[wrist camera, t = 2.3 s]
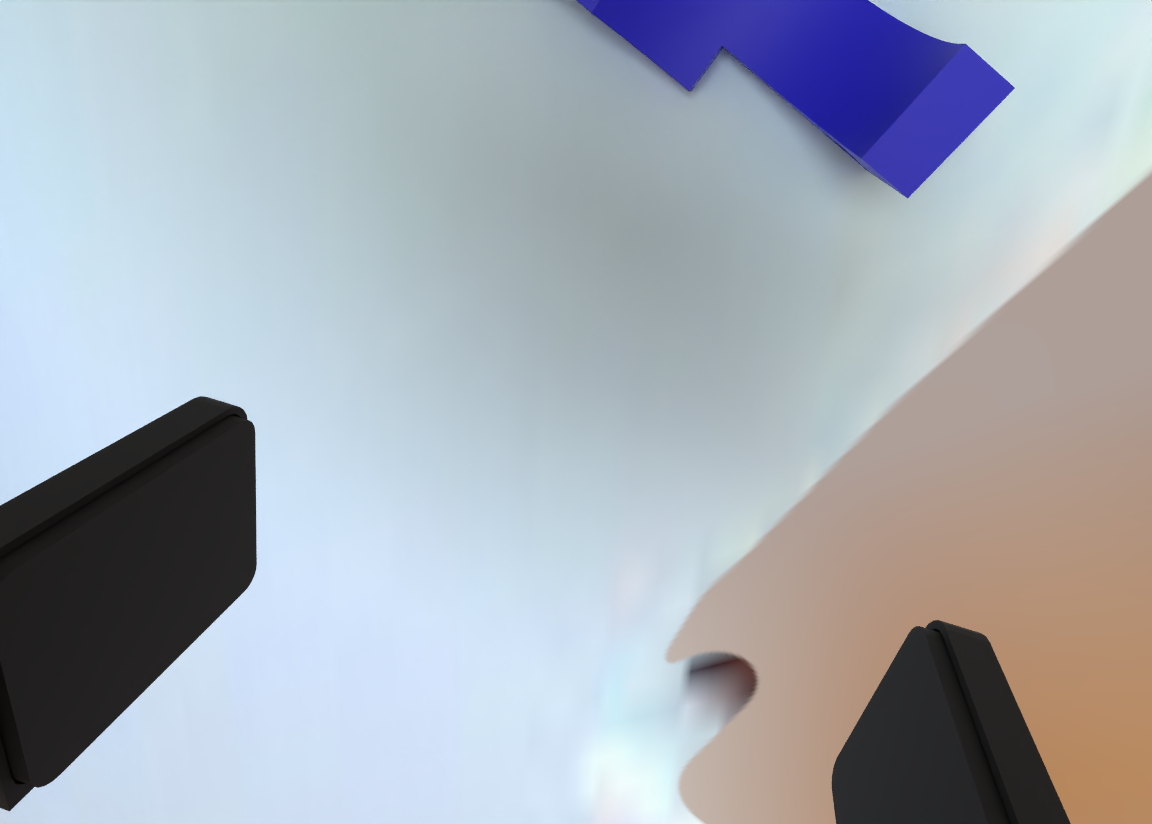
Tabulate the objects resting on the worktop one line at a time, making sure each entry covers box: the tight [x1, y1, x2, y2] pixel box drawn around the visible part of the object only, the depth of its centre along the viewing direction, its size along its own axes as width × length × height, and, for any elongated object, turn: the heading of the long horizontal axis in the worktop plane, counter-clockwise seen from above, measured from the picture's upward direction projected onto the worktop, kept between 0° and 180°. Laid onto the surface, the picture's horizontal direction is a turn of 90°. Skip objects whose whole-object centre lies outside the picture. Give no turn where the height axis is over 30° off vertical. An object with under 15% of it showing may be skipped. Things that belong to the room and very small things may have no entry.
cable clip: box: [577, 0, 1014, 198], centre depth 18 cm, size 12×4×6 cm, turn 54°
